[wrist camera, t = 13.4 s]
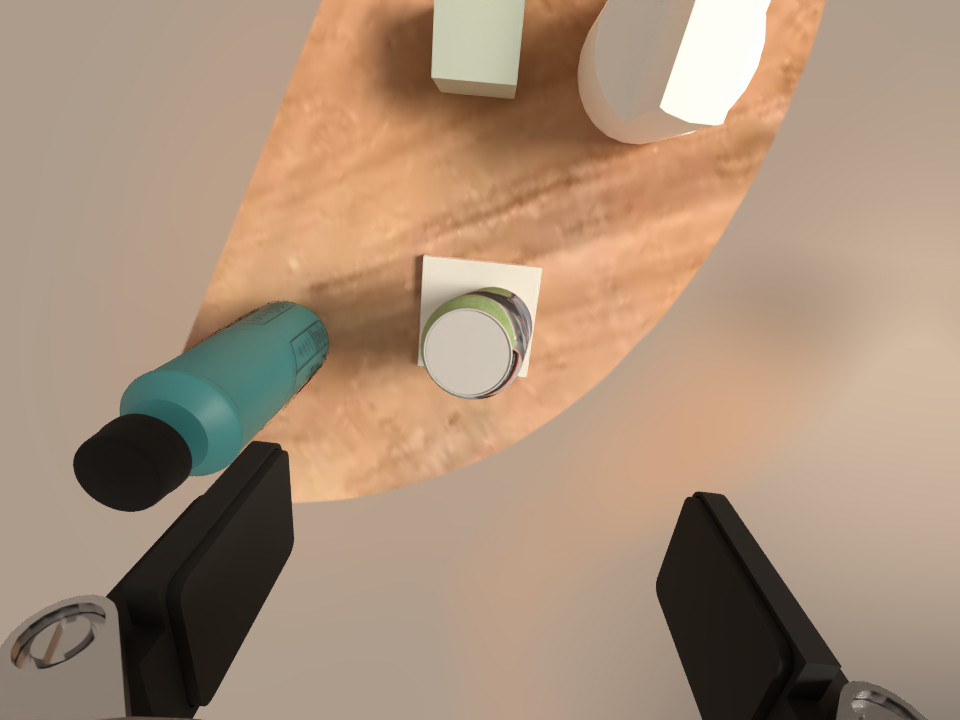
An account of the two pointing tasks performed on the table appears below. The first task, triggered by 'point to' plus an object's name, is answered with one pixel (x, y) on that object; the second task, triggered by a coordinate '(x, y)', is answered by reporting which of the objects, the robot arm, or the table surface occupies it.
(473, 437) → the table surface
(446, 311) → the beverage can
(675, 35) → the cylinder with rectangular tab
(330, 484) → the table surface
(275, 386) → the beverage bottle
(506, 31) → the sage block
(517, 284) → the coaster
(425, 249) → the table surface
